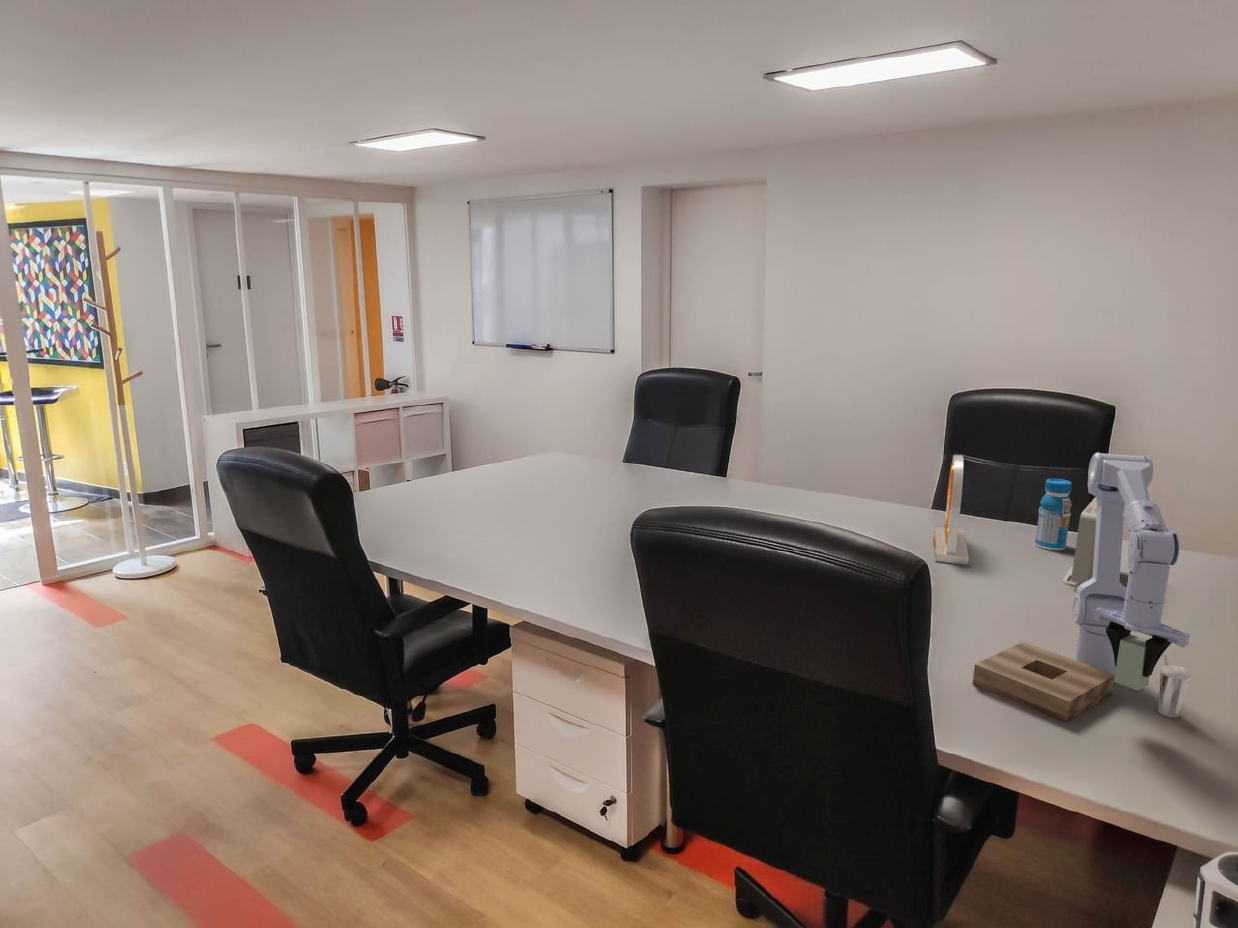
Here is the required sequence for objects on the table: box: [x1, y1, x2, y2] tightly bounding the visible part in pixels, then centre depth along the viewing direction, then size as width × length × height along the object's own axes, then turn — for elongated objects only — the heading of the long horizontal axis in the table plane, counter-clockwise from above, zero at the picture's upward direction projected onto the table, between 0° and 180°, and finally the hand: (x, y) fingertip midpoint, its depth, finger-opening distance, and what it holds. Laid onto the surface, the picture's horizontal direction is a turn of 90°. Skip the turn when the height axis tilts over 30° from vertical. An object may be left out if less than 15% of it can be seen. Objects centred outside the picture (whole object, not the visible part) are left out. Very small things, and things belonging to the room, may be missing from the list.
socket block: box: [972, 641, 1115, 723], centre depth 163 cm, size 18×18×4 cm
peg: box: [1114, 633, 1150, 691], centre depth 150 cm, size 4×4×8 cm
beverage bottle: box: [1034, 478, 1073, 551], centre depth 250 cm, size 8×8×20 cm
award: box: [932, 454, 970, 566], centre depth 245 cm, size 28×9×28 cm, turn 161°
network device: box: [1062, 496, 1097, 588], centre depth 224 cm, size 26×9×20 cm, turn 143°
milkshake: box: [1157, 654, 1191, 719], centre depth 155 cm, size 4×5×10 cm
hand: (1132, 670), depth 150 cm, fingers closed on peg, 4 cm apart
